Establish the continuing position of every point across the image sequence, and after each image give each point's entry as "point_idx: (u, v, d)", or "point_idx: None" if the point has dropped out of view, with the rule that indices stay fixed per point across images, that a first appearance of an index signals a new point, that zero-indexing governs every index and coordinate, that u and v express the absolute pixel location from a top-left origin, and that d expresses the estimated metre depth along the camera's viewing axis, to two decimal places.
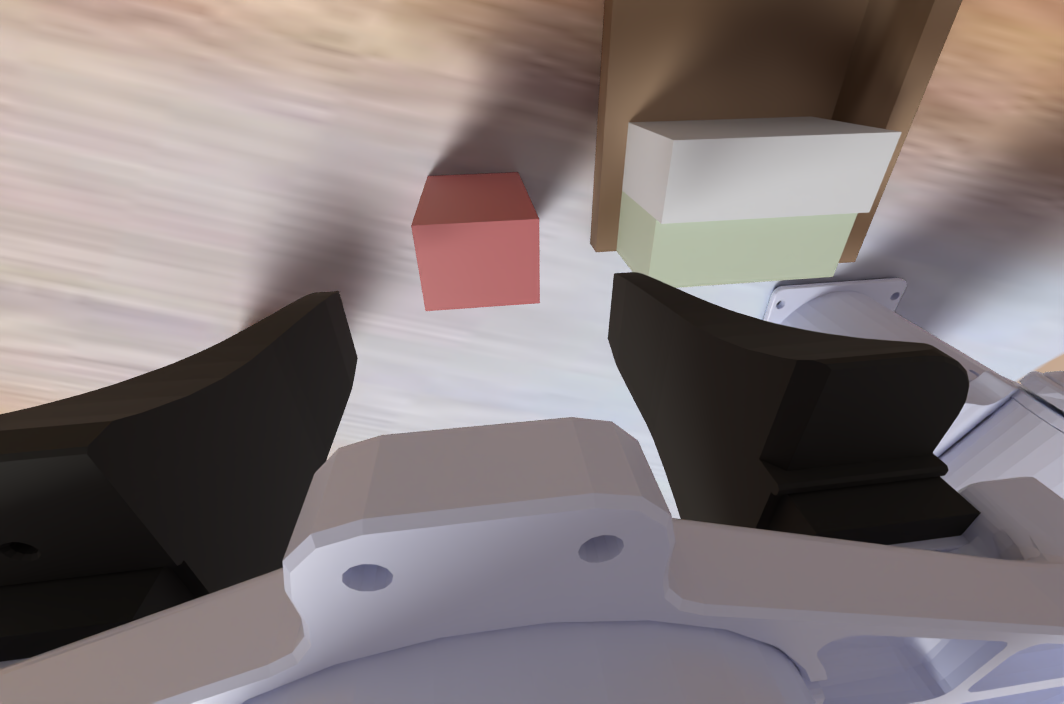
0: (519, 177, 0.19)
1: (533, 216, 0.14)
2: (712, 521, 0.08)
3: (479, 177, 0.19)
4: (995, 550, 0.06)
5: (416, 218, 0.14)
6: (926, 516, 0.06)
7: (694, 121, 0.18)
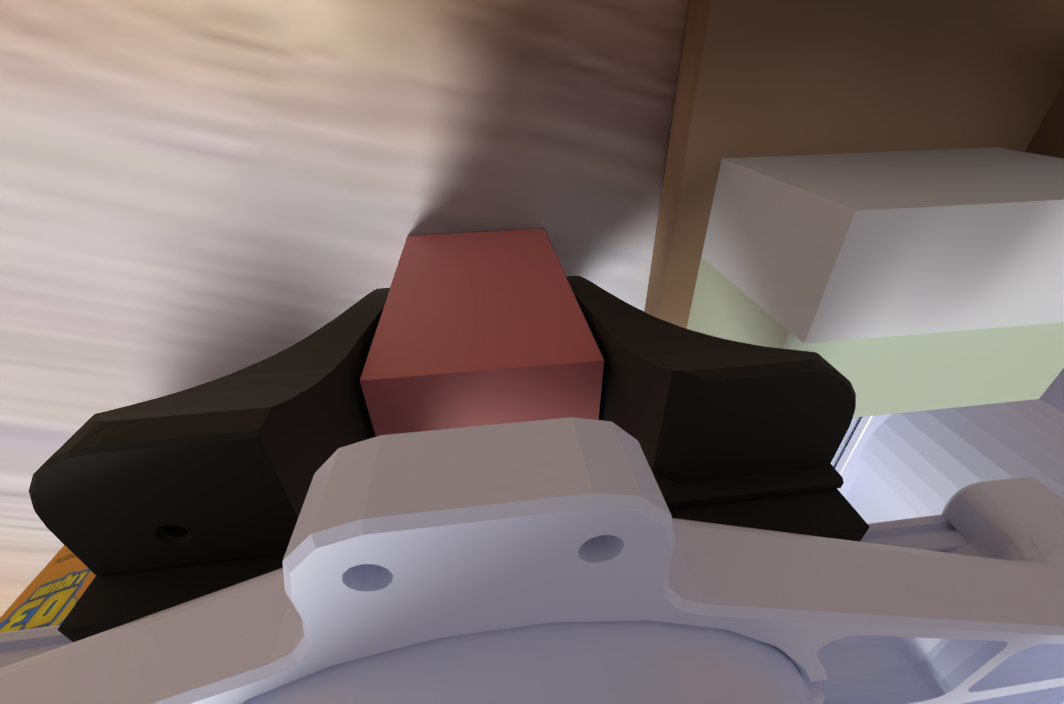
0: (548, 240, 0.12)
1: (591, 352, 0.08)
2: None
3: (486, 240, 0.12)
4: (995, 550, 0.06)
5: (373, 354, 0.08)
6: (813, 530, 0.06)
7: (826, 157, 0.11)
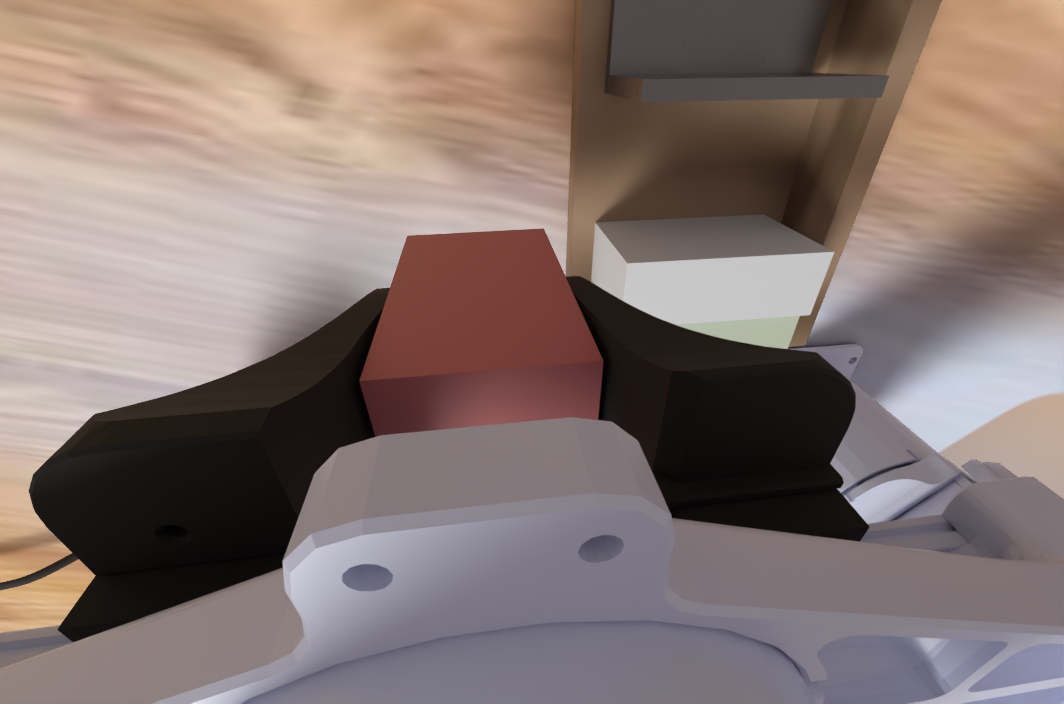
0: (547, 241, 0.12)
1: (591, 352, 0.08)
2: None
3: (486, 240, 0.12)
4: (995, 550, 0.06)
5: (372, 355, 0.08)
6: (813, 530, 0.06)
7: (655, 222, 0.20)
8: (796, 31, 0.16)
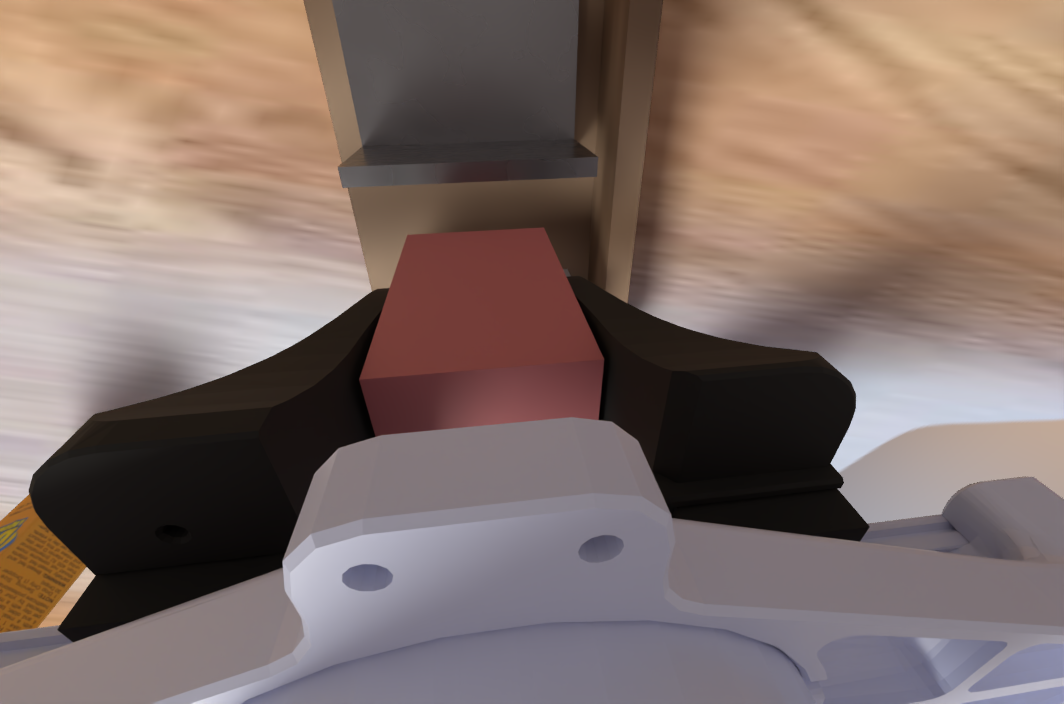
0: (548, 239, 0.12)
1: (591, 351, 0.08)
2: None
3: (486, 239, 0.12)
4: (995, 550, 0.06)
5: (372, 353, 0.08)
6: (813, 530, 0.06)
7: None
8: (547, 101, 0.16)
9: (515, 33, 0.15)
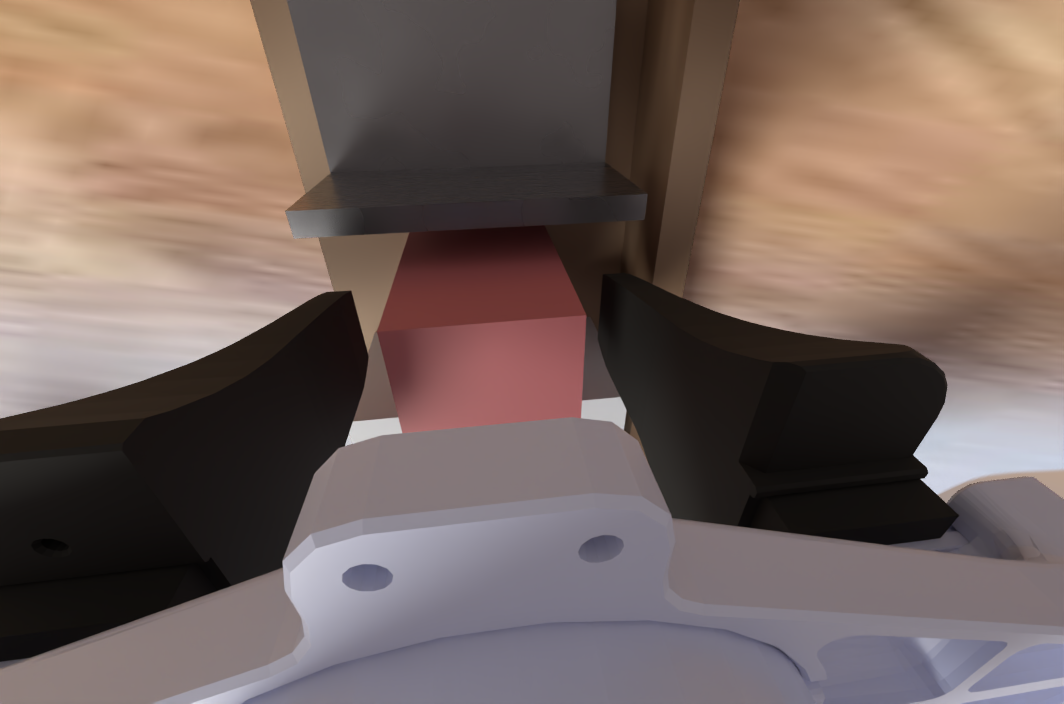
0: None
1: (576, 309, 0.09)
2: None
3: None
4: (995, 550, 0.06)
5: (387, 312, 0.09)
6: (904, 519, 0.06)
7: None
8: (571, 114, 0.13)
9: (532, 24, 0.11)
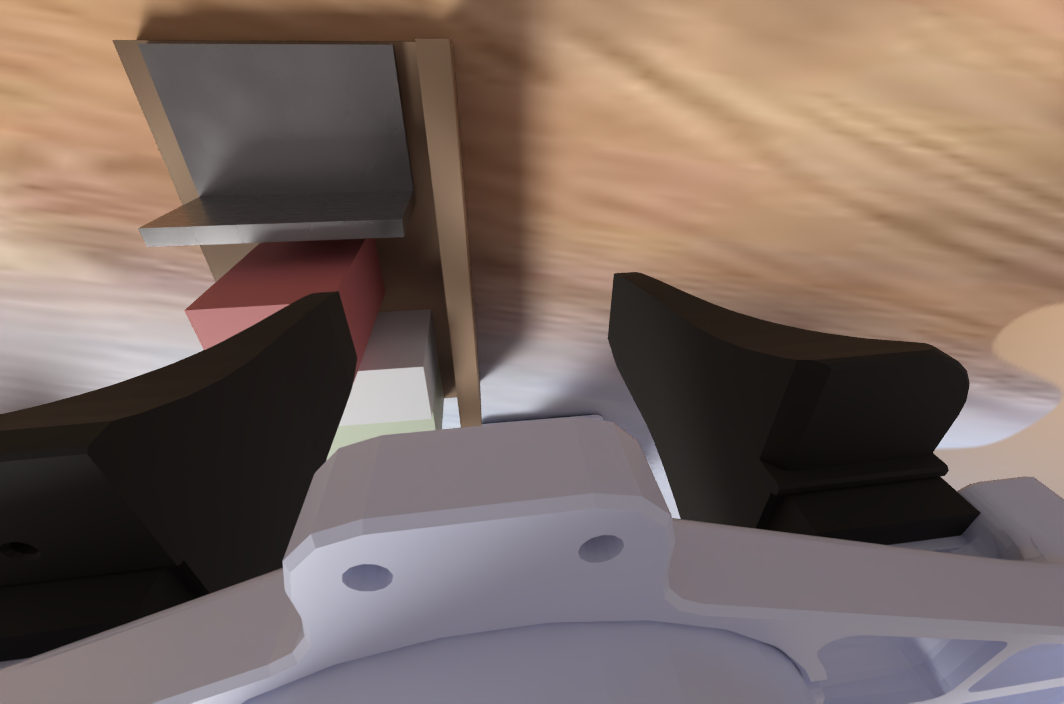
0: None
1: None
2: (712, 521, 0.08)
3: None
4: (995, 550, 0.06)
5: (200, 298, 0.13)
6: (926, 516, 0.06)
7: None
8: (379, 156, 0.17)
9: (336, 94, 0.16)
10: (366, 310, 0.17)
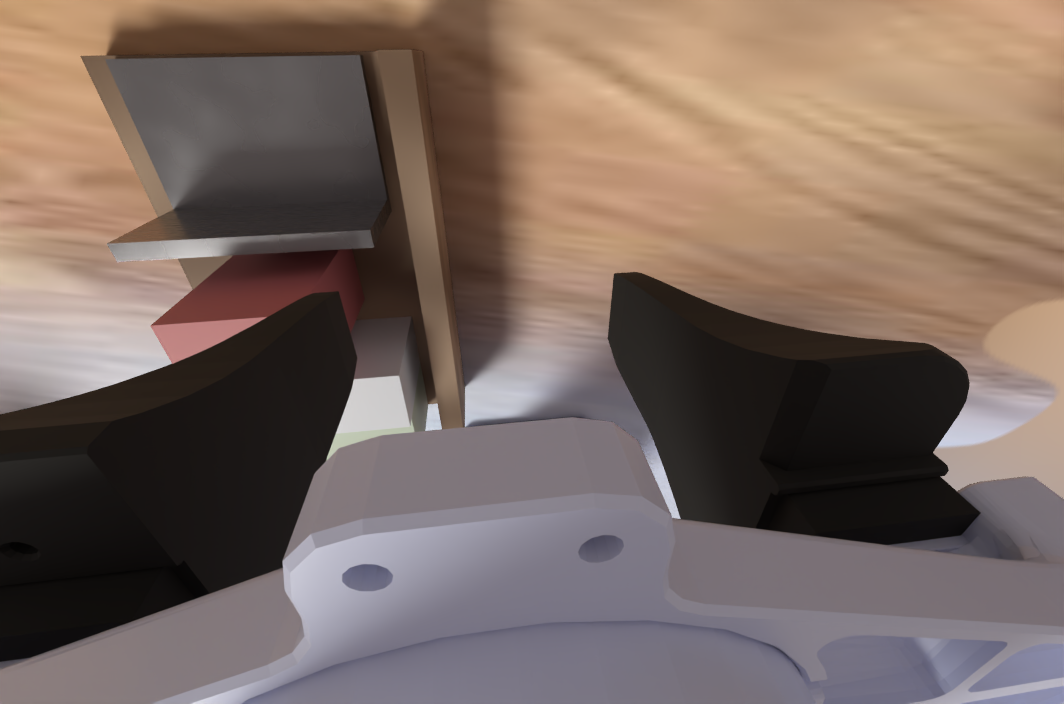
0: None
1: None
2: (712, 521, 0.08)
3: None
4: (995, 550, 0.06)
5: (168, 313, 0.13)
6: (926, 516, 0.06)
7: None
8: (351, 166, 0.17)
9: (305, 105, 0.16)
10: None
